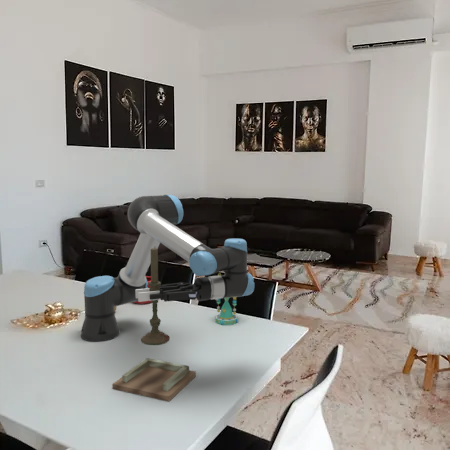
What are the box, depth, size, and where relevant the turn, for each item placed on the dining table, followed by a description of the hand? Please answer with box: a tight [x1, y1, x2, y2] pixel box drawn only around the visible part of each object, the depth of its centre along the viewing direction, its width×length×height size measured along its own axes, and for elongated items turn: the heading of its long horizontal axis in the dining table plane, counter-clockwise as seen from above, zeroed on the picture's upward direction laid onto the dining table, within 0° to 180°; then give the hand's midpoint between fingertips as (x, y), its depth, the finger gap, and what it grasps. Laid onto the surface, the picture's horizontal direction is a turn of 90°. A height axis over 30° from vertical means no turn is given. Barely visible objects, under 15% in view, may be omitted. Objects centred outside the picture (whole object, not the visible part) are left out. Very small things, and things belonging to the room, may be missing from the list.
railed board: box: [111, 357, 197, 402], centre depth 146 cm, size 20×18×4 cm
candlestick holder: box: [140, 246, 171, 346], centre depth 143 cm, size 9×9×30 cm
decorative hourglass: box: [214, 272, 239, 326], centre depth 203 cm, size 11×11×30 cm
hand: (137, 295), depth 140 cm, fingers closed on candlestick holder, 3 cm apart
